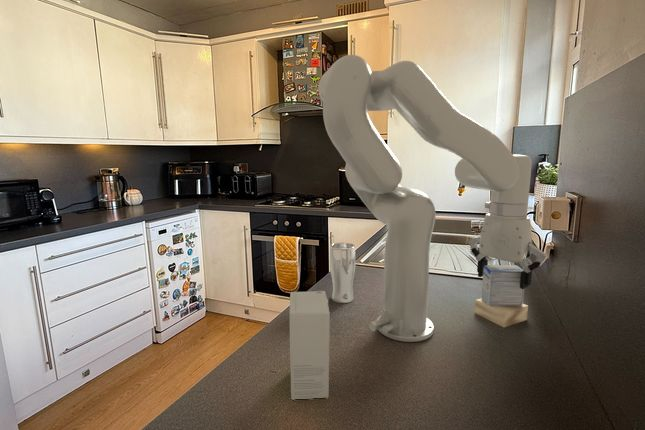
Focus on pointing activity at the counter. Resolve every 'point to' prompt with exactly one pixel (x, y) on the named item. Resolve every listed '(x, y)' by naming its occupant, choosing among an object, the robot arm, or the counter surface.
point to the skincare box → (309, 344)
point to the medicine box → (502, 285)
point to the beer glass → (342, 271)
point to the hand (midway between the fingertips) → (502, 281)
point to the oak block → (501, 313)
